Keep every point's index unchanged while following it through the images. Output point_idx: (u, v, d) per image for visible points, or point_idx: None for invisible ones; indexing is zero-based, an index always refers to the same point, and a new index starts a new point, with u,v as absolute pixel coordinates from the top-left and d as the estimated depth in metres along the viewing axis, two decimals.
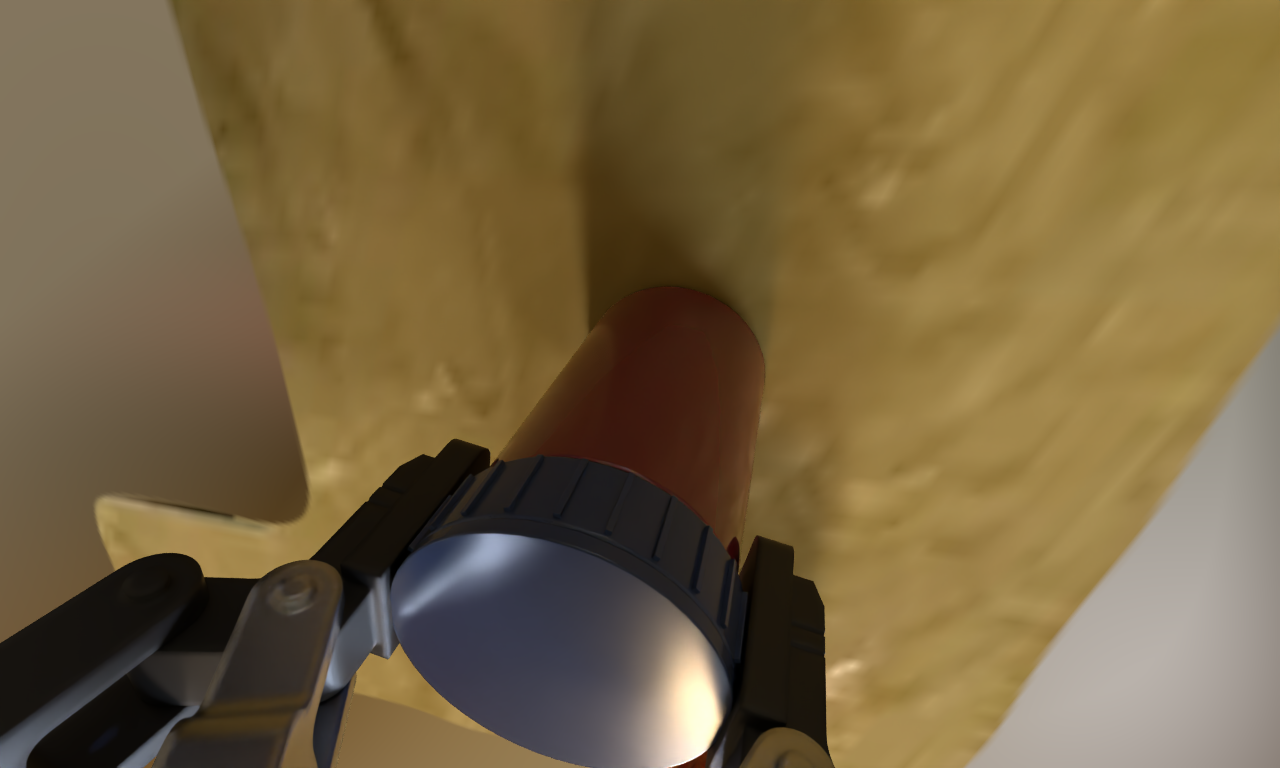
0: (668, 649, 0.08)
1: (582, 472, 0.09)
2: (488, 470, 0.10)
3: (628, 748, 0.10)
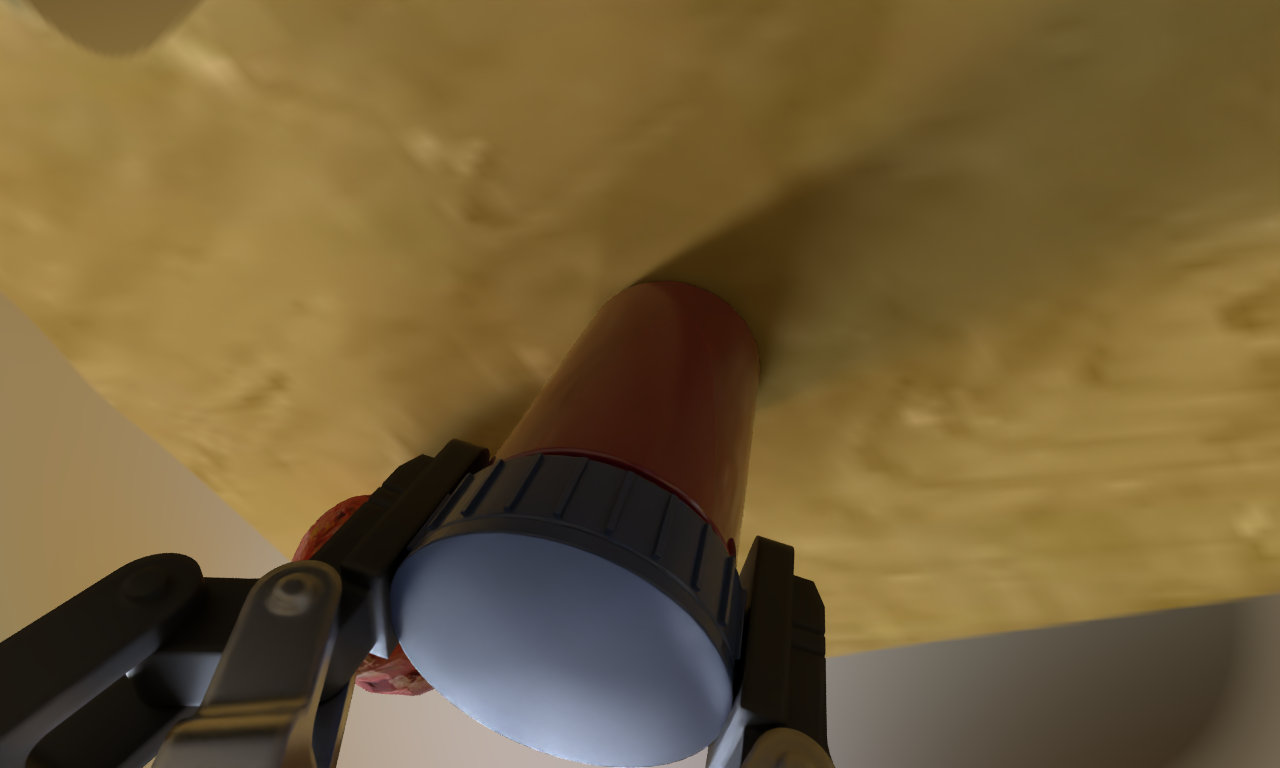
0: (669, 646, 0.08)
1: (582, 471, 0.09)
2: (487, 469, 0.10)
3: (628, 745, 0.10)
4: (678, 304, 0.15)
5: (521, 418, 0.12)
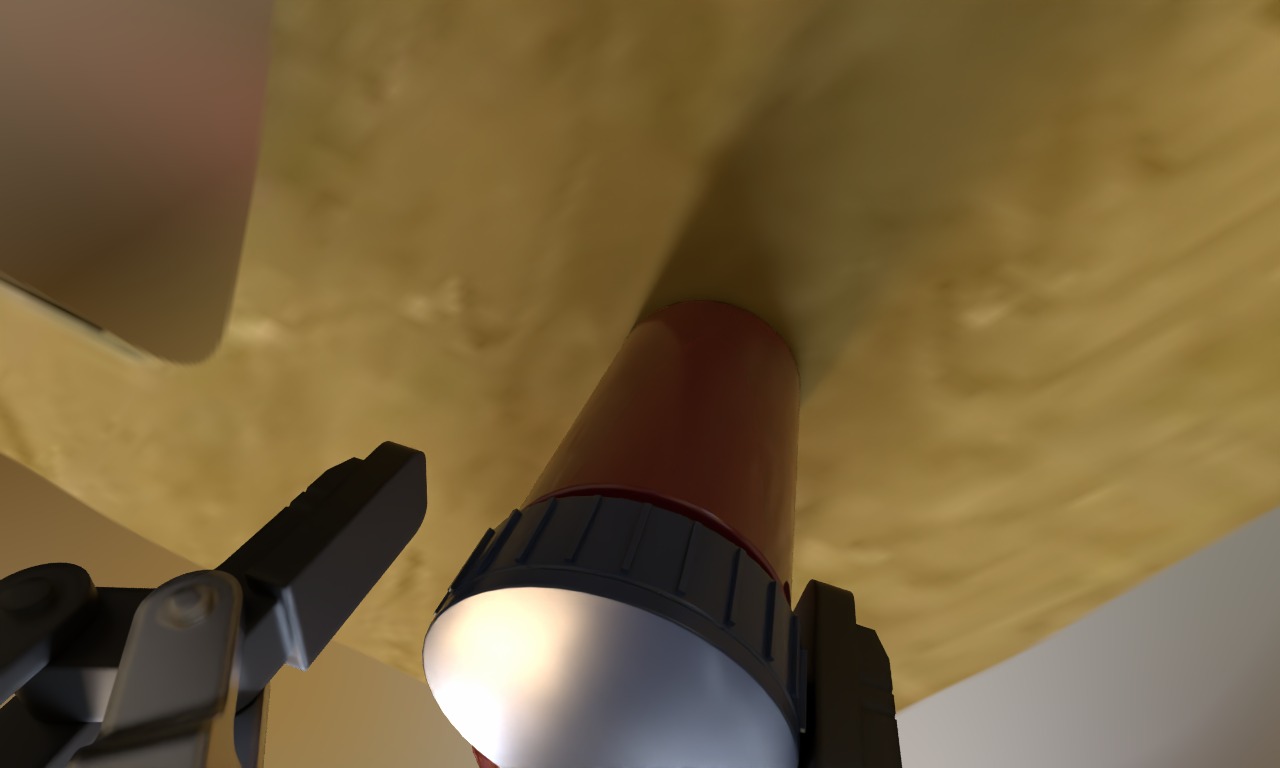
0: (599, 631, 0.08)
1: (484, 541, 0.09)
2: None
3: (747, 762, 0.08)
4: (665, 325, 0.15)
5: None
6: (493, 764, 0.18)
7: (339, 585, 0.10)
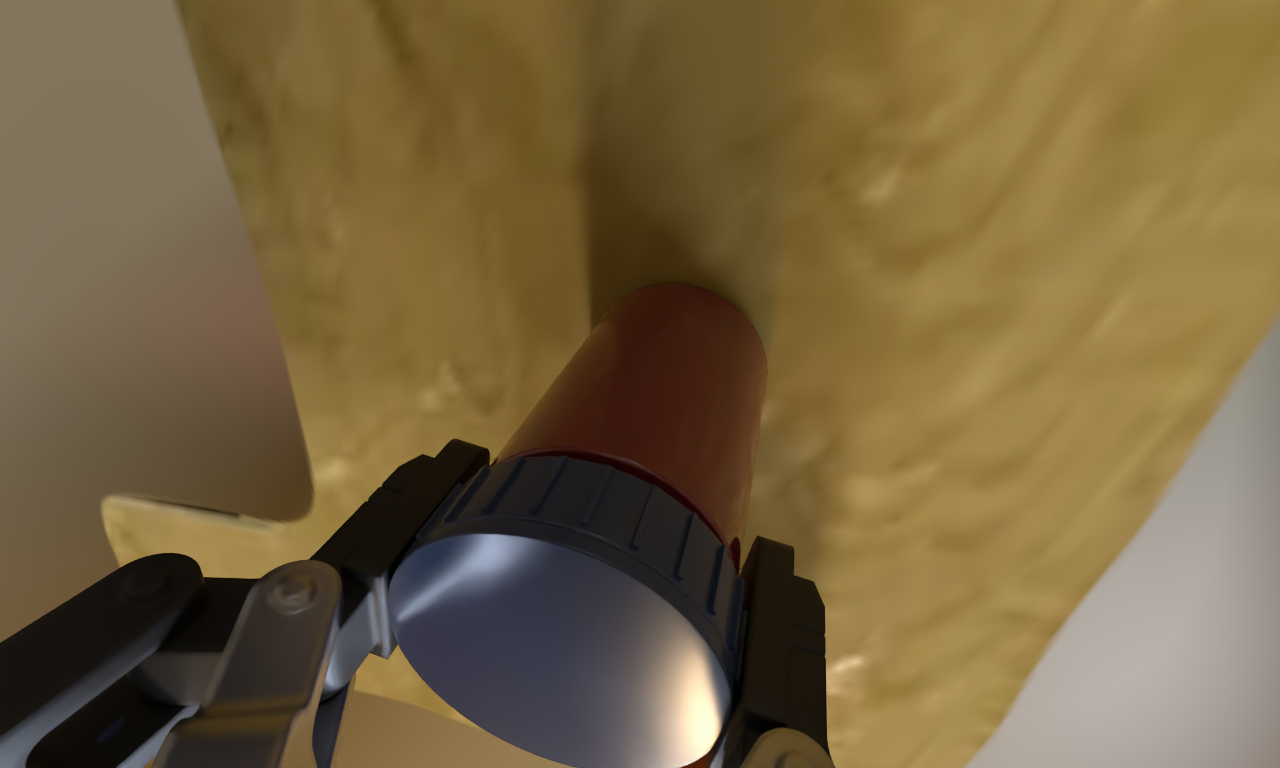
0: (484, 569, 0.08)
1: None
2: None
3: (673, 659, 0.08)
4: (598, 324, 0.16)
5: None
6: None
7: None
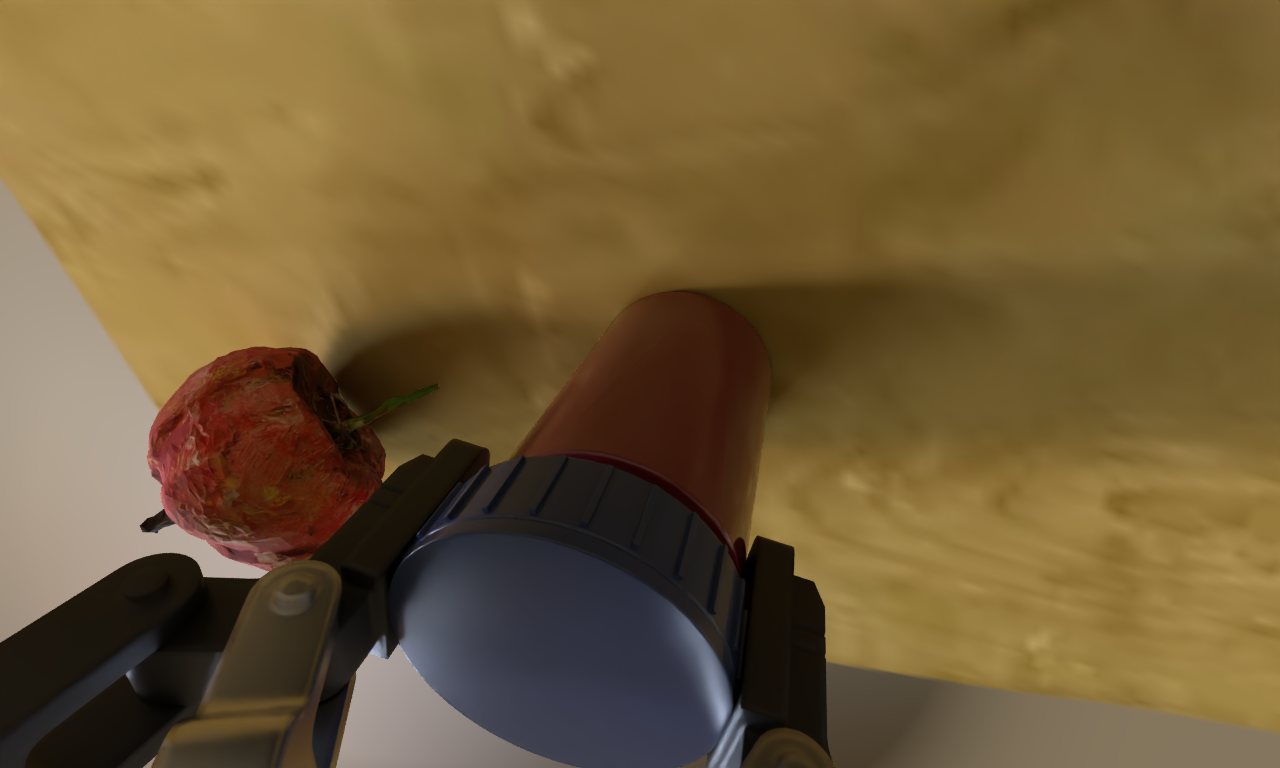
0: (485, 569, 0.08)
1: None
2: None
3: (674, 658, 0.08)
4: (721, 327, 0.15)
5: (562, 403, 0.12)
6: (189, 465, 0.16)
7: None
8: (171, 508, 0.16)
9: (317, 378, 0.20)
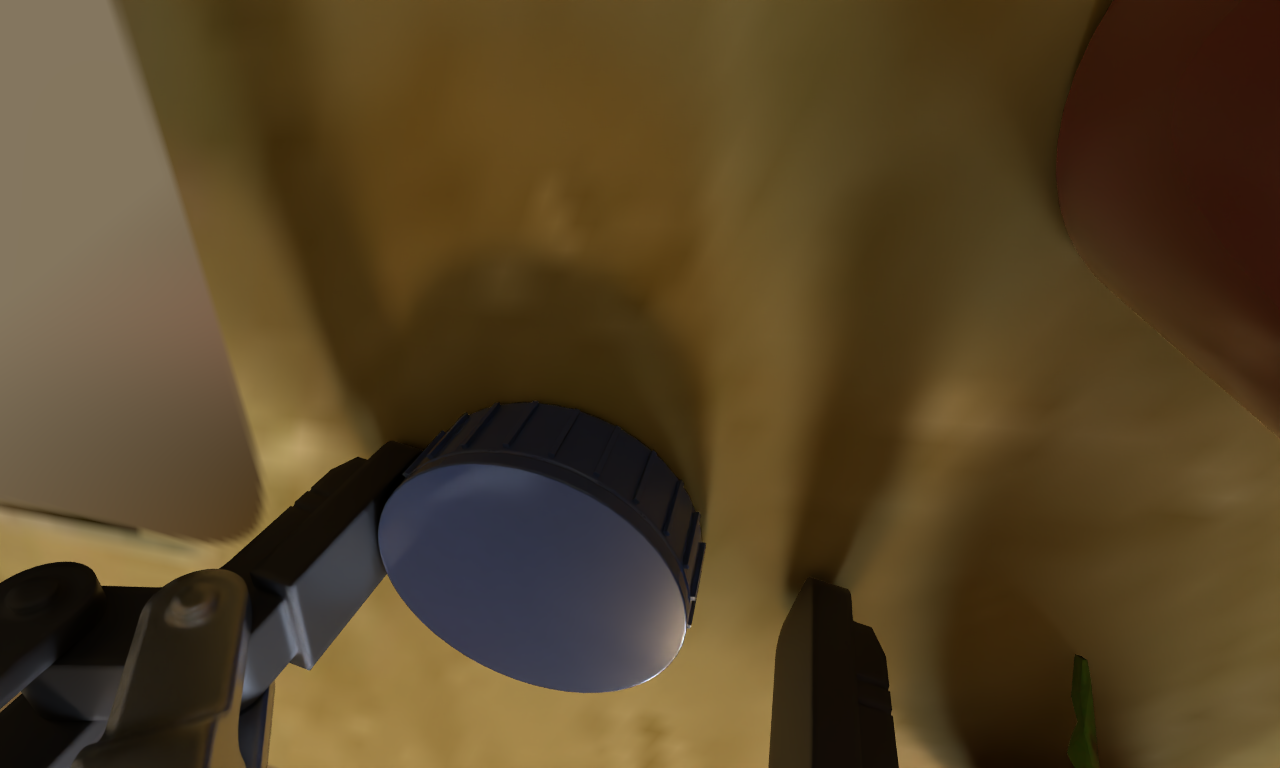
0: (464, 499, 0.10)
1: None
2: None
3: (632, 575, 0.09)
4: None
5: None
6: None
7: (343, 584, 0.10)
8: None
9: None
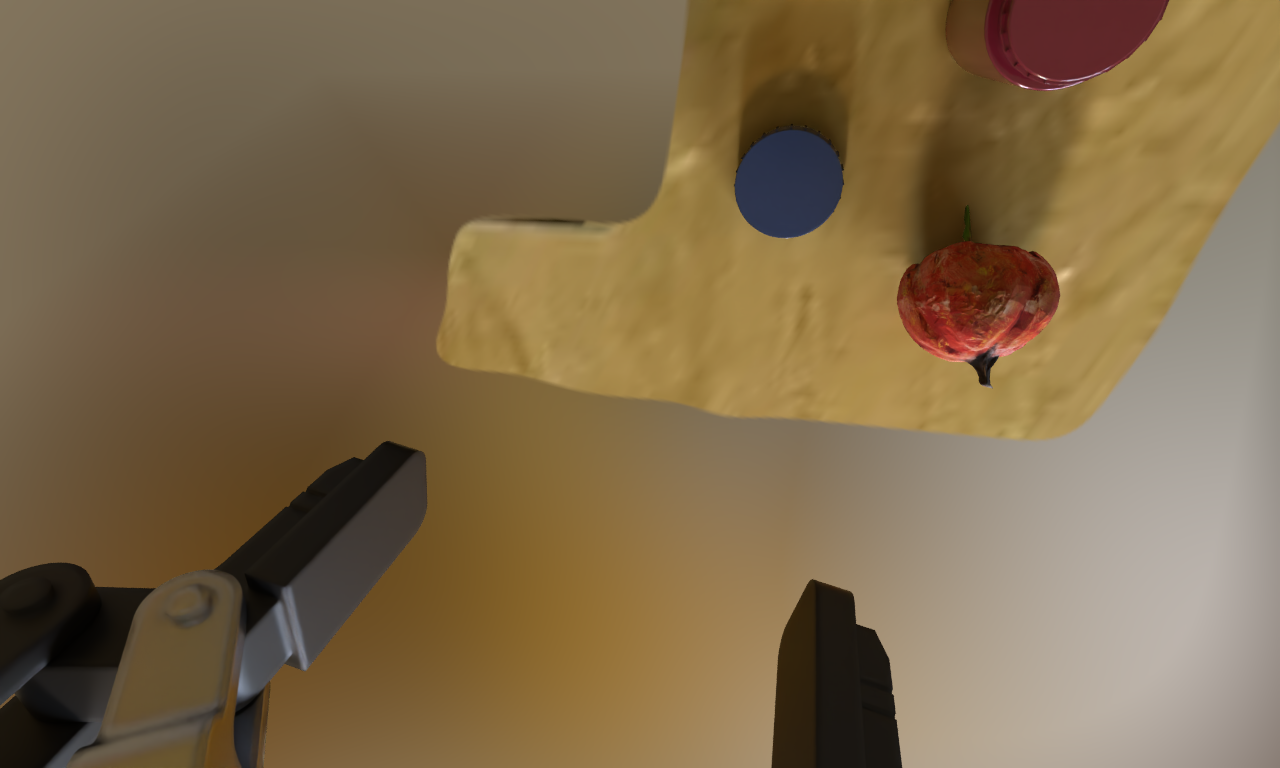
0: (776, 146, 0.31)
1: (739, 167, 0.34)
2: None
3: (827, 169, 0.31)
4: None
5: (973, 42, 0.24)
6: (948, 307, 0.29)
7: (339, 585, 0.10)
8: (970, 332, 0.29)
9: None
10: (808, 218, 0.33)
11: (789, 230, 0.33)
